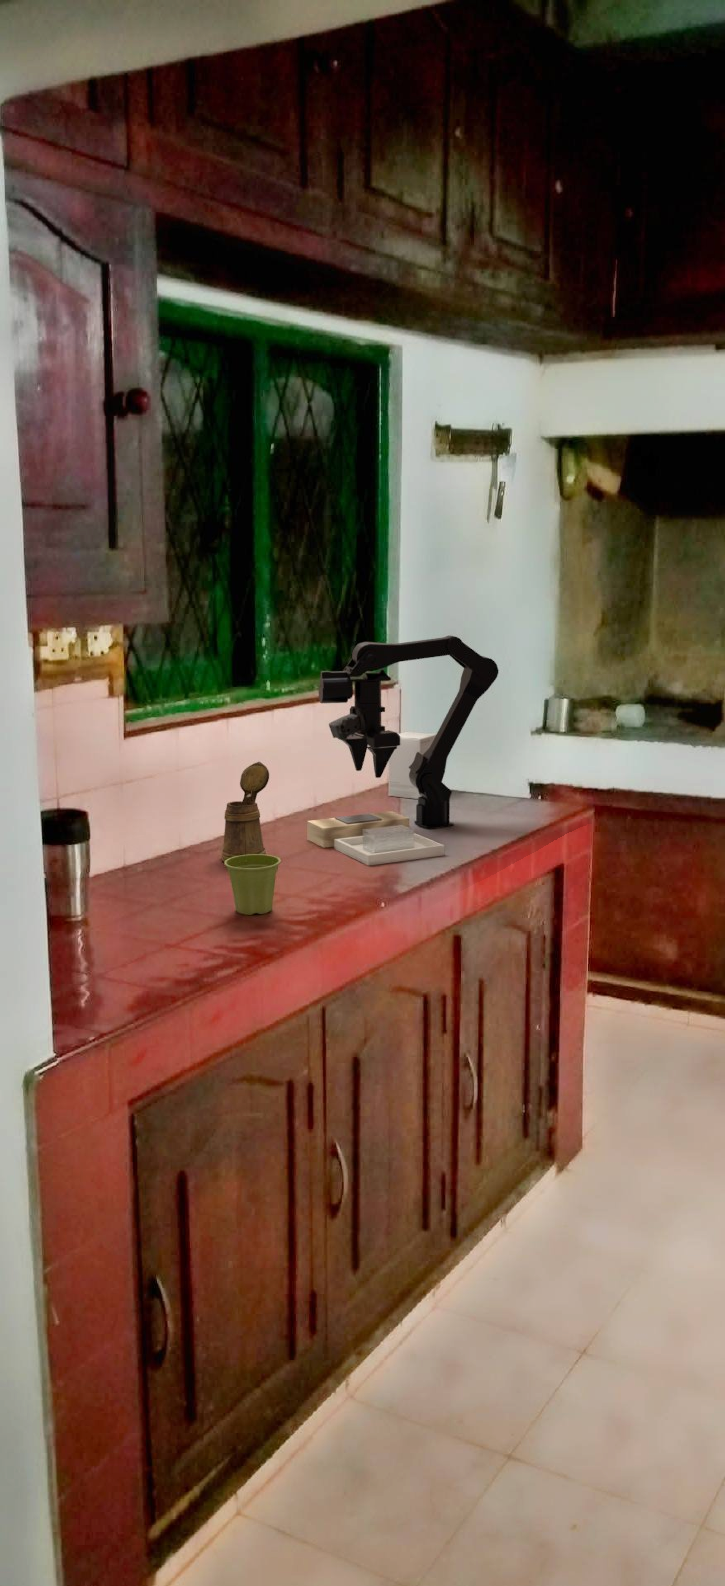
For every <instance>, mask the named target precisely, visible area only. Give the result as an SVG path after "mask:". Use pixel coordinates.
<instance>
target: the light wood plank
mask: <svg viewBox="0 0 725 1586" xmlns="http://www.w3.org/2000/svg"><path fill="white" fill-rule="evenodd" d="M397 825H404V826H406V827H409V828H410V817H408V816H405V815H402V814H399V813H397V812H395V811H392V810H390V811H383V812H382V811H380V812H372V813H363V814H354V815H346V816H344V815H343V816H337V817H331V818H330V817H329V818H322V819H313V820H307V821H306V837H307V838H306V840H307V841H309V842H311V843H314V844H315V845H317V846H319V847H321V848H323V849H324V848H331V847H333V848H334V839H341V838H349V837H357V836H363V830H364V829H372V828H380V827H388V826H397Z"/></svg>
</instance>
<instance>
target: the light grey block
mask: <svg viewBox="0 0 725 1586" xmlns="http://www.w3.org/2000/svg"><path fill="white" fill-rule="evenodd" d="M414 833H415V829H414V828H411V827H410V826H409V827H406V826H404V825H397V826H388V827H380V828H372V829H364V830H363V849H364V850H366V851H368V852H370V853H372V854H375V853H382V852H390V851H398V850H405V849H413V848H414Z"/></svg>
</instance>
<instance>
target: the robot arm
mask: <svg viewBox="0 0 725 1586" xmlns="http://www.w3.org/2000/svg"><path fill="white" fill-rule="evenodd" d="M445 656H449V657H450V658H452V659H453V661H455V662H456V663H457V665H459V666H461V668H463V671H462V673H461V677H460V683H459V688H458V689H459V690H458V692H457V694H456V695H455V696H456V697H455V698H454V699H453V702H452V704H451V705H450V707H449V709H448V711H447V713H446V716H445V717H444V719H443V721H442V723H441V725H440V726H439V729H438V731H437V732H436V733H435V734H436V736H435V738H434V740H433V742H432V744H431V746H430V748H429V749H428V750H427V751H426V752H425V753H424V754H423V755H422V754H421V753H419V752H417V753H416V756H415V759H414V761H413V763H412V764H411V765H410V766H409V769H411V770H410V773H409V779H410V782H411V783H412V785H413V786H415V787H416V788H417V789H418V792H419V794H421V795H422V796H421V797H418V799H417V804H416V805H415V806H416V807H415V808H416V809H415V810H416V817H415V819H416V820H414V824H415V825H418V826H420V827H423V828H425V829H438V828H445V827H451V826H452V827H453V826H454V823H453V822H451V821H450V813H451V812H450V810H451V809H450V808H451V806H450V805H451V804H450V803H451V802H450V801H451V799H450V798H451V796H452V793H453V792H452V790H451V789H450V788H449V787H447V786H446V785H445V783H443V779H444V776H445V773H446V768H447V767H446V766H447V762H448V761H447V760H448V756H449V755H450V754H451V751H452V749H453V747H454V745H455V743H456V741H457V740H458V737H459V735H460V733H461V732H462V730H463V728H464V726H465V724H466V722H467V721H468V718H469V716H470V715H471V713H472V710H473V709H474V706H475V705H476V703H477V701H478V700H479V699H480V698H481V697H482V696H483V695H484V694H485V693H486V692H487V691H488V690H489V688H490V687H491V686H492V685H493V683H494V682H495V681H496V680H497V678H498V675H499V668H498V665H497V663H496V661H495V660H493V659H492V658H490V657H487V656H484V655H481V654H479V653H478V652H476V650H474V649H472V648H471V647H469V646H468V645H467V644H466V643H465V642H463V641H462V639H461V638H459V637H458V636H454V635H447V636H444V637H437V638H430V639H429V638H428V639H422V640H421V639H420V640H413V641H408V642H398V643H387V642H373V641H363V642H359V643H357V645H356V646H354V648H353V651H352V654H351V659H350V660H349V662H348V664H346V666H345V667H344V669H343V671H340V670H339V671H329V670H321V671H320V678H319V685H318V699H319V703H320V704H346V703H348V702H349V701H348V700H351V699H352V698H354V700H353V701H354V705H353V706H352V705H351V706H350V708H349V713H348V714H347V715H344V716H341V717H339V718H337V719H335V720H333V721H331V722H329V723H328V727H329V729H330V732H331V735H332V738H334V739H338V740H340V741H341V742H343V743H345V745H346V746H347V747H348V749H349V753H350V755H351V758H352V762H353V764H354V767H355V770H356V771H357V772H361V771H362V769H363V765H364V762H365V758H366V754H367V750H368V751H369V752H370V753H371V754H372V760H373V771H374V776H375V778H377V779H380V778H381V777H382V776H383V773H384V771H385V769H386V767H387V766H388V764H389V759H390V757H391V755H392V754H393V752H394V750H395V749H397V746H400V736H399V735H398V734H399V733H398V732H396V731H392V730H389V729H388V730H386V726H384V725H383V724H382V713H385V712H386V706H382V682H388V681H389V682H390V681H391V680H392V678H391V677H390V676H389V675H388V674H387V673H386V672H385V670H384V668H387V667H390V666H392V665H394V664H397V663H400V662H408V661H416V660H422V659H429V658H437V657H445ZM375 671H377V672H375ZM361 676H362V677H361ZM353 683H354V684H353ZM353 696H354V697H353Z"/></svg>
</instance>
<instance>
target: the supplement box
mask: <svg viewBox="0 0 725 1586" xmlns="http://www.w3.org/2000/svg"><path fill="white" fill-rule="evenodd" d="M397 734H398V735H399V736H400V746H397V749H395V750H394V752H393V754H392V755H391V757H390V759H389V761H388V796H389V797H396V798H405V799H415V800H418V797H421V796H422V795H421V794H419V792H418V789H417V788H416V787H415V786H413V785H412V783H411V782H410V779H409V773H410V770H411V769H409V766H410V765H411V764H412V763H413V761H414V759H415V756H416V753H417V752H419V753H421V754H422V755H423V754H424V753H425V752H426V751H427V750H428V749H429V748H430V746H431V744H432V742H433V740H434V738H435V736H436V734H437V733H425V732H424V733H423V732H415V731H413V732H412V731H404V732H401V733H400V732H399V733H397Z"/></svg>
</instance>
